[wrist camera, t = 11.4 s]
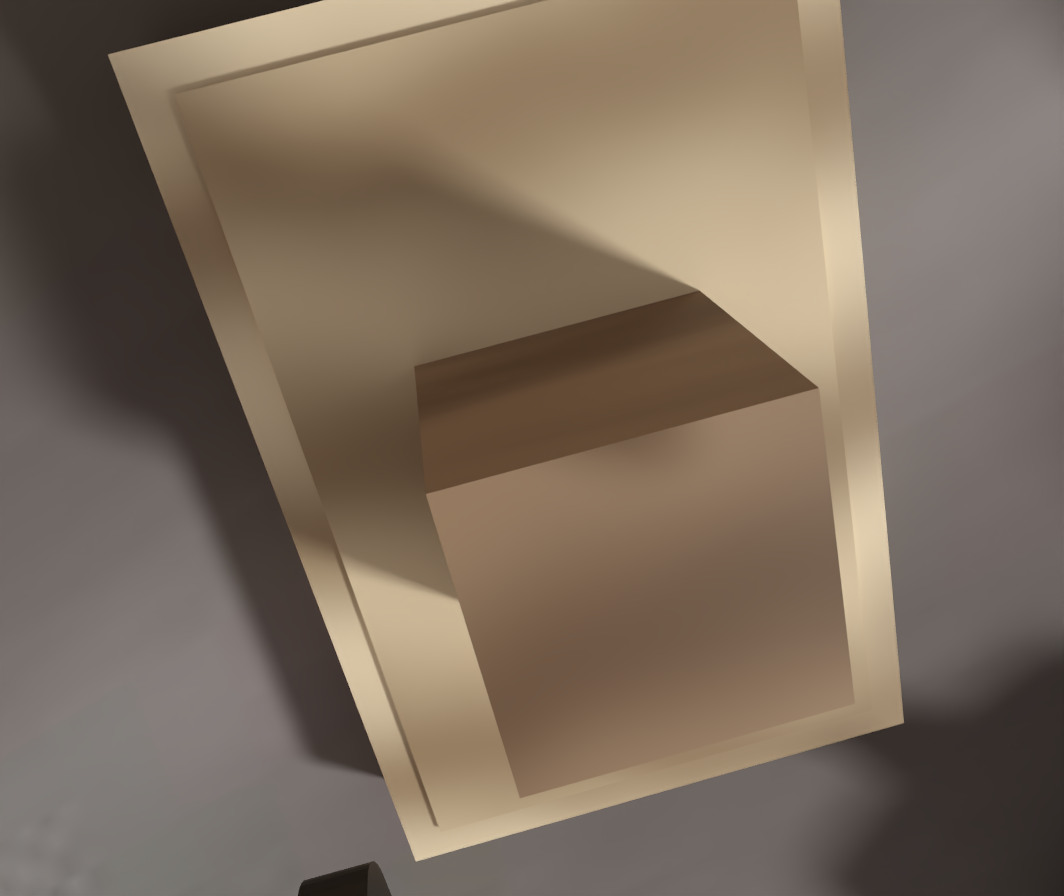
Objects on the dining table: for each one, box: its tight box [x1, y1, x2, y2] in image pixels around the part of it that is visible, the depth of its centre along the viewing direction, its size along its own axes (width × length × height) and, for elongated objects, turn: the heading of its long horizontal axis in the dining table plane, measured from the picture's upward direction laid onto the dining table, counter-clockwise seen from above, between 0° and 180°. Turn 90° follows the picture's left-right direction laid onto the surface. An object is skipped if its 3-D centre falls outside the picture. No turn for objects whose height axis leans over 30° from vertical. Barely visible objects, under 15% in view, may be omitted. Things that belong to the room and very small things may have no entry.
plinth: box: [108, 0, 904, 861], centre depth 21 cm, size 18×12×3 cm, turn 13°
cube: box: [414, 291, 855, 798], centre depth 17 cm, size 6×6×6 cm
